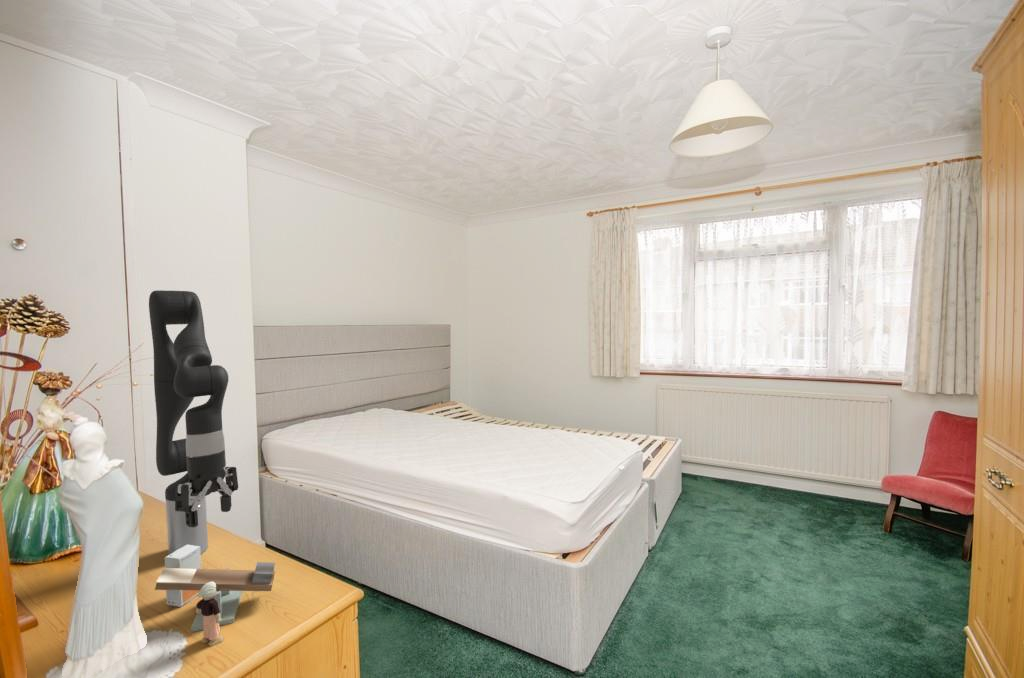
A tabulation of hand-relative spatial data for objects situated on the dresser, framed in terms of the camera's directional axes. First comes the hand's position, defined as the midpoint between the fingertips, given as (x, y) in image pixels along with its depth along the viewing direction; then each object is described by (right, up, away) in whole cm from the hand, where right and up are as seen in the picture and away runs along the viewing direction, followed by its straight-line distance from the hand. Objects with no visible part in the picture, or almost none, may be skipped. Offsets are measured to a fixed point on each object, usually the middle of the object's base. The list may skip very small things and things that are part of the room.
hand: (210, 518), depth 105 cm
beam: (+2, -15, -1) cm, 16 cm away
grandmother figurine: (+7, -22, -9) cm, 25 cm away
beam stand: (+2, -21, 0) cm, 21 cm away
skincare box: (-9, -21, +4) cm, 23 cm away
